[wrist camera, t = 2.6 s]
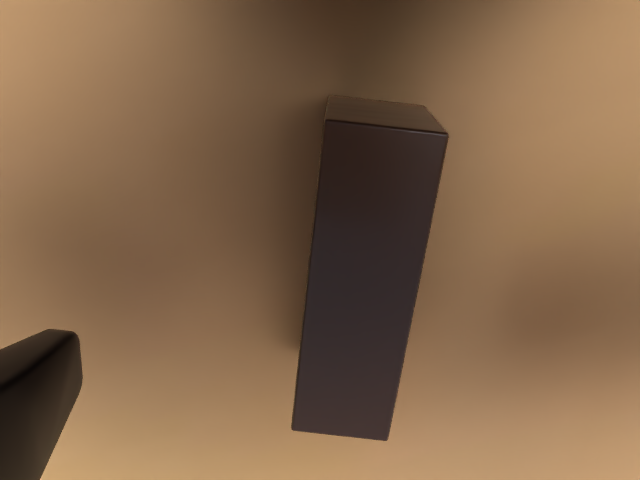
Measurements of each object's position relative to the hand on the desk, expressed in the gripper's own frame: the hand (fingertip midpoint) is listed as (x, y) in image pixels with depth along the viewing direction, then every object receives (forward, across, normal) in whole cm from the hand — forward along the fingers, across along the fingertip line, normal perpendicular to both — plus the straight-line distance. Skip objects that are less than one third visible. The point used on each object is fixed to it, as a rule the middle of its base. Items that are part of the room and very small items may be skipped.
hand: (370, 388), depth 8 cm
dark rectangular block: (+6, 0, 0) cm, 6 cm away
